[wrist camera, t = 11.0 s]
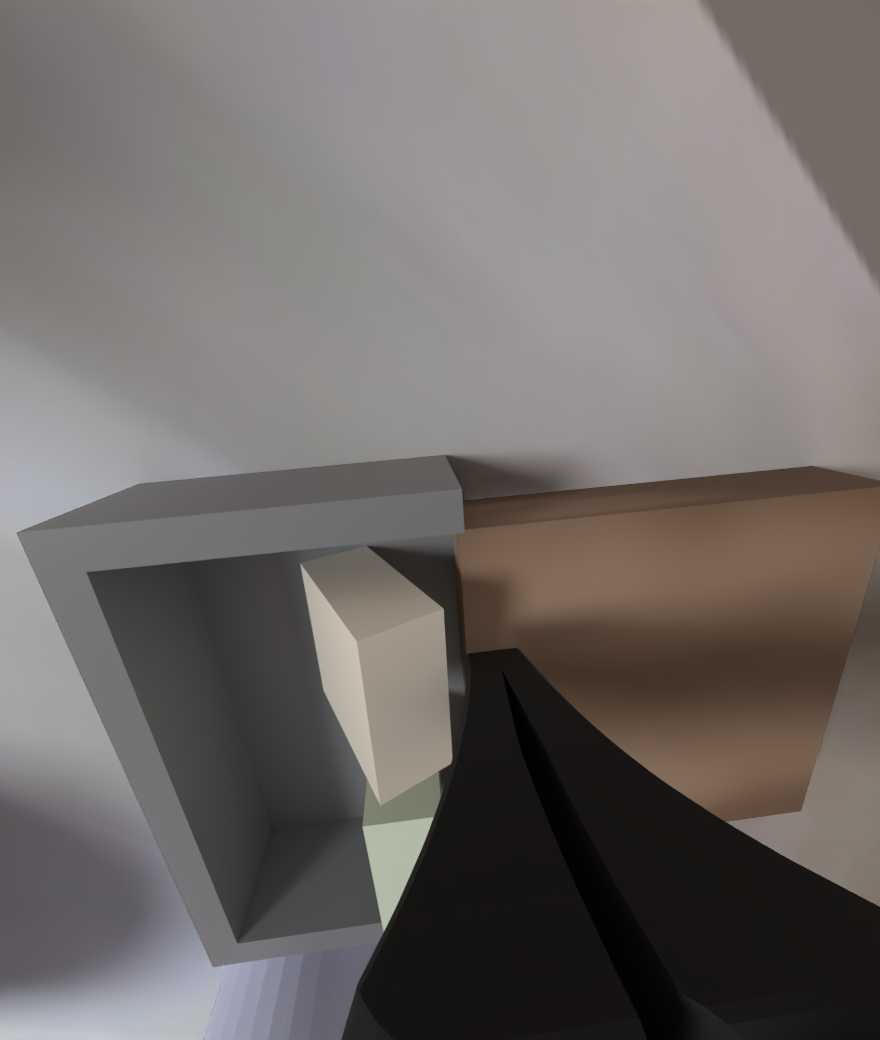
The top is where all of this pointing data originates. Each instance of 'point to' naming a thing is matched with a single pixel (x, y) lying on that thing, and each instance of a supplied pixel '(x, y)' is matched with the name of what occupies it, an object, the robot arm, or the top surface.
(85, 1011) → the top surface
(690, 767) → the walnut board
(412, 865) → the sage tile
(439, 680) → the cream tile
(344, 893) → the box
